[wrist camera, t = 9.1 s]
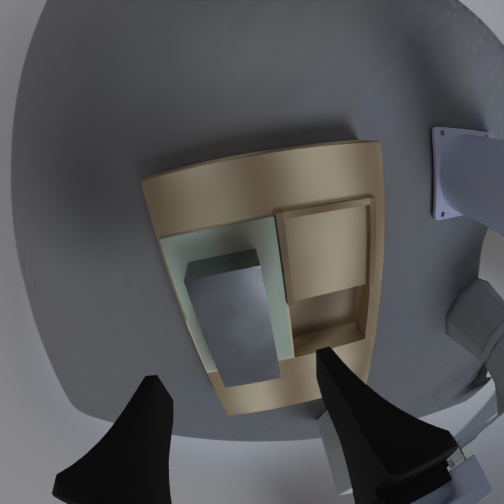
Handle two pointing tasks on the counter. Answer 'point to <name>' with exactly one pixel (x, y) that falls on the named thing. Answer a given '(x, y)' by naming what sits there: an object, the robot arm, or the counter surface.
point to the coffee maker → (481, 329)
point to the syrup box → (456, 458)
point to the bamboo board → (284, 252)
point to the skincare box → (334, 454)
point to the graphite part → (234, 316)
